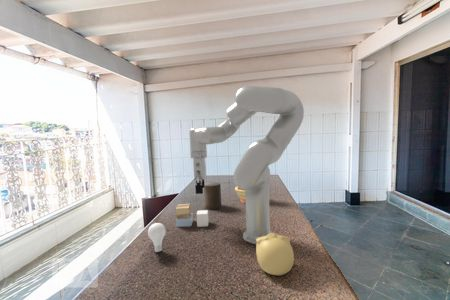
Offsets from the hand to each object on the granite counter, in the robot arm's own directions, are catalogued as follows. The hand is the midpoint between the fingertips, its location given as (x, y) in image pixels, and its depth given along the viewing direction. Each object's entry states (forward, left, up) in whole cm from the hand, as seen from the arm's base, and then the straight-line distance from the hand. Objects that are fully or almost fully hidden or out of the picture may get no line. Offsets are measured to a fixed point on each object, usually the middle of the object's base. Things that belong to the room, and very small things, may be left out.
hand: (200, 190), depth 109 cm
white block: (0, 0, -17) cm, 17 cm away
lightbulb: (-23, +15, -17) cm, 32 cm away
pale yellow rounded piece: (-37, -26, -17) cm, 49 cm away
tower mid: (+2, +9, -13) cm, 16 cm away
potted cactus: (+32, -25, -17) cm, 44 cm away
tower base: (+2, +9, -17) cm, 19 cm away
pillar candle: (+24, -4, -17) cm, 29 cm away
